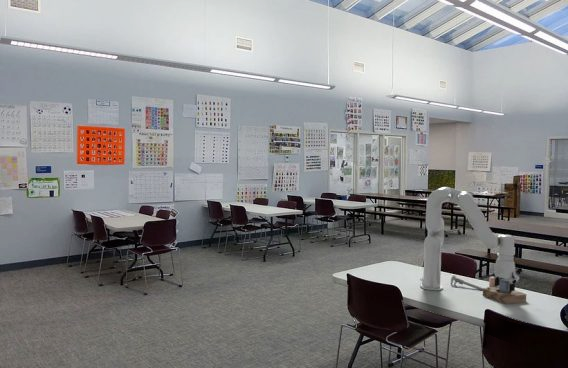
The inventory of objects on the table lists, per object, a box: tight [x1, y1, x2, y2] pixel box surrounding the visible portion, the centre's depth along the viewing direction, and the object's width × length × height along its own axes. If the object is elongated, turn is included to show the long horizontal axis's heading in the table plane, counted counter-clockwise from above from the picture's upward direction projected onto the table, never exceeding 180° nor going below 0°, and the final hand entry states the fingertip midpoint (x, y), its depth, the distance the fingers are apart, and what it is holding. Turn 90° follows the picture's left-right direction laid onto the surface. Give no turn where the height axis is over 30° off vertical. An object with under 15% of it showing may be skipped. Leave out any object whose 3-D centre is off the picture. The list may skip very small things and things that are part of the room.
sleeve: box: [499, 278, 511, 293], centre depth 238 cm, size 5×5×10 cm
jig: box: [482, 286, 527, 305], centre depth 238 cm, size 16×14×5 cm
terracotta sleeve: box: [488, 276, 497, 287], centre depth 251 cm, size 4×4×8 cm
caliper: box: [450, 274, 484, 292], centre depth 257 cm, size 20×1×6 cm, turn 51°
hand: (504, 288), depth 238 cm, fingers open, 9 cm apart
